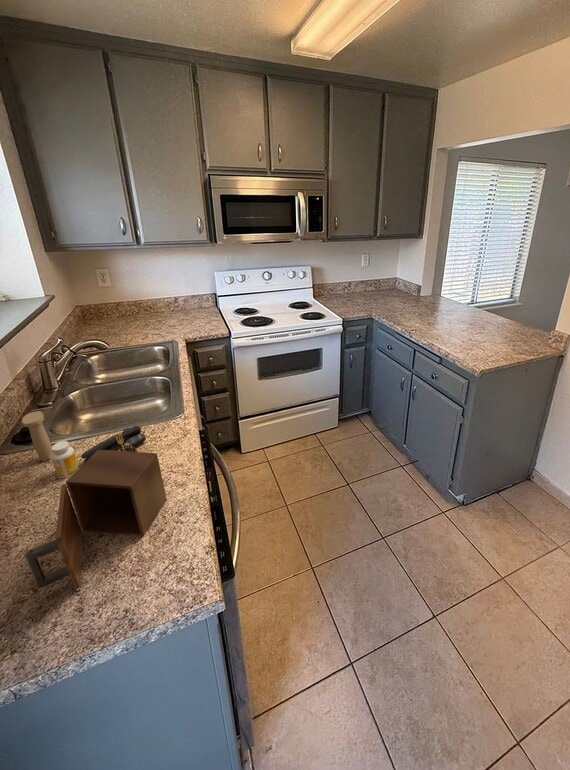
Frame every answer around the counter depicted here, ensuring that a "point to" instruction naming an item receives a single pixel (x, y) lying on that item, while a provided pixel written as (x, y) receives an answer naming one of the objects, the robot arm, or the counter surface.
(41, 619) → the counter surface
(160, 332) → the counter surface
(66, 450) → the supplement bottle
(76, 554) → the cupboard door
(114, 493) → the cupboard
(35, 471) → the counter surface
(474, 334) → the counter surface
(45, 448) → the handle
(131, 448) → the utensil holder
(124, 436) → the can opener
